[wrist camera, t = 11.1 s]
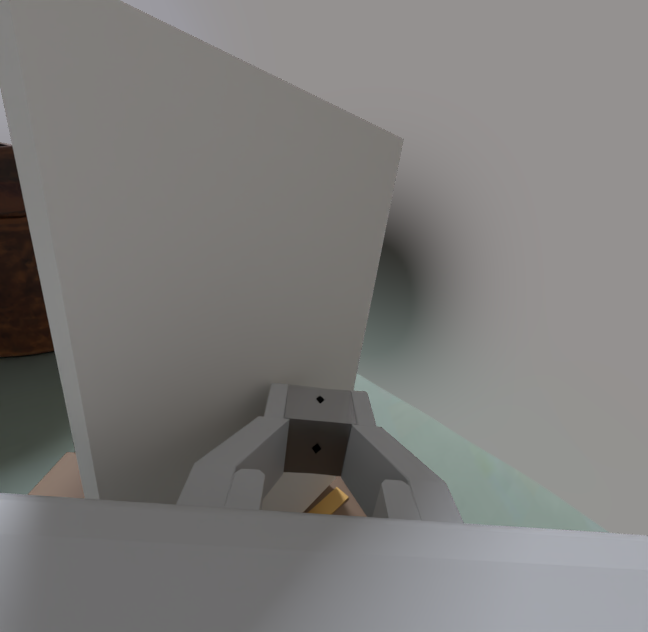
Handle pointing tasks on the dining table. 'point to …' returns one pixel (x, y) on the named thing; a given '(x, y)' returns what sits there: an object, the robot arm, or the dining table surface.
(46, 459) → the dining table surface
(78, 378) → the white upright panel
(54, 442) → the dining table surface
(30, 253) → the case
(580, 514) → the dining table surface
